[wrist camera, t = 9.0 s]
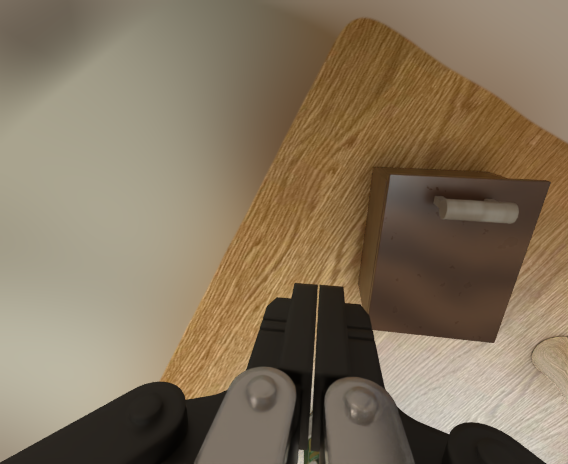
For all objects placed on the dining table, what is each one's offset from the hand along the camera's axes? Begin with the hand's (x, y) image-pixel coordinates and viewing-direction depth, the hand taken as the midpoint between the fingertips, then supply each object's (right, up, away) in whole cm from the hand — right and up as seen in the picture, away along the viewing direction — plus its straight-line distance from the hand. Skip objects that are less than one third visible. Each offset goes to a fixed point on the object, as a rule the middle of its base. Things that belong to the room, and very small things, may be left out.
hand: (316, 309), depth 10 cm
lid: (+14, 0, +19) cm, 24 cm away
